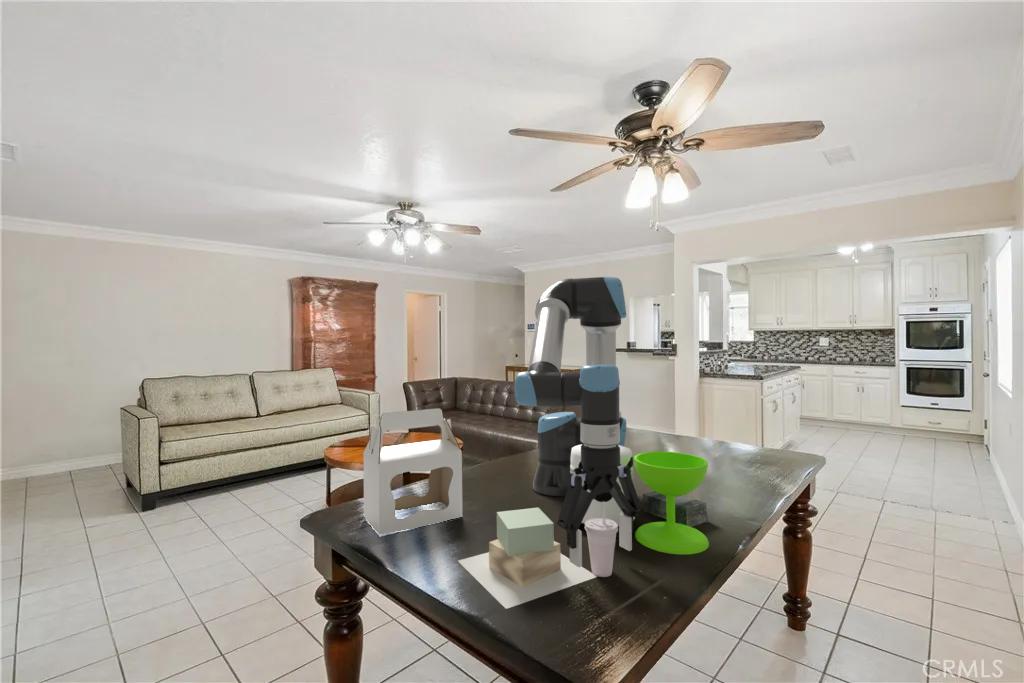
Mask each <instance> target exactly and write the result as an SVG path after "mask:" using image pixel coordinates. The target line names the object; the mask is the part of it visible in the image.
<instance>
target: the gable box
mask: <svg viewBox="0 0 1024 683" xmlns="http://www.w3.org/2000/svg"><path fill="white" fill-rule="evenodd" d="M379 421H380V422H379V424H378V425H376V426H371V427H370V434H369V441H368V443H367V445H366V446H365V449H364V451H363V453H362V454H363V518H364V517H365V518H366V519H367V520H368V521H369V523H370V524H371V525H372V526H373V528H374V529H375V530H376V531H377V532H378V533H379V534H384V533H389V532H395V531H401V530H406V529H412V528H416V527H420V526H425V525H429V524H433V523H437V522H442V523H444V522H443V521H446V522H448V521H447V520H450V519H455V518H459V517H462V518H463V454H462V453H463V451H462V449H461V446H460V444H459V442H458V440H457V438H456V436H455V435H454V432H453V430H452V421H451V418H444V415H443V410H442V409H441V408H439V407H438V408H437V407H435V408H426V409H424V408H423V409H417V410H415V409H414V410H404V411H392V412H383V413H382V414H381V416H380V417H379ZM437 426H438V427H439V428H440V439H434V440H427V441H420V442H419V441H418V442H412V443H402V444H397V445H396V444H395V445H389V446H383V436H384V433H387V432H388V433H389V432H392V431H398V430H399V431H400V430H408V429H409V430H411V429H418V428H427V427H428V428H429V427H437ZM408 472H429V475H428V492H427V493H426V494H425V495H413V494H412V495H403V496H400V497H398V498H396V499H395V497H394V495H393V492H392V489H391V483H392V479H394V478H395V477H396V476H398V475H400V474H403V473H408ZM437 502H442V503H444V504H445V505H446V506H447V507H446V508H445V509H442V510H422V511H419V512H416V513H414V514H412V515H410V516H408V517H406V518H404V519H397V518H396V517H395V510H401V509H408V508H412V507H417V506H421V505H427V504H432V503H437ZM459 519H460V518H459ZM455 520H456V519H455ZM450 521H451V520H450Z"/></svg>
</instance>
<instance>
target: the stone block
mask: <svg viewBox="0 0 1024 683" xmlns="http://www.w3.org/2000/svg"><path fill="white" fill-rule="evenodd" d="M642 510H643V512H645V513H648V514H651V515H653V516H656V517H659V518H661V519H665V520H666V495H663V494H660V493H657V492H655V491H651V492H646V493H642ZM708 522H709V516H708V509H707V502H706V501H705V502H704V501H702V500H697V499H694V498H692V497H687V496H686V495H681V496H675V523H679V524H683V525H687V526H690V527H692V528H695V527H696V526H699V525H702V524H705V523H708Z"/></svg>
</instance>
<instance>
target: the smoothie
mask: <svg viewBox="0 0 1024 683" xmlns="http://www.w3.org/2000/svg"><path fill="white" fill-rule="evenodd" d="M584 530H585V531H586V535H587V542H588V543H587V544H588V550H589V552H588V553H589V559H590V568H591V573H592V574H594V575H596V576H597V577H601V578H606V577H607V578H608V577H610V576H612V574H613V566H614V564H613V563H614V555H615V548H616V541H617V539H616V537H617V534H618V533H619V528H618V524H617V523H616V522H615V521H613V520H610V519H606V518H605V502H604V501H603V502H602V518H592V519H589V520H587V521H586V522H585V526H584Z"/></svg>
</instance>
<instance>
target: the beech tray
mask: <svg viewBox="0 0 1024 683" xmlns="http://www.w3.org/2000/svg"><path fill="white" fill-rule="evenodd" d="M488 552H489V568H491V569H493V570H494V571H496V572H498V573H499V574H501V575H503V576H504V577H506V578H508V579H509V580H511V581H513V582H514V583H516V584H518V585H520V586H521V587H525V586H527V585H529V584H531V583H533V582H535V581H537V580H540V579H542V578H544V577H546V576H548V575H550V574H552V573H554V572H556V571H558V570H560V569H561V554H562V552H561V543H559V542H557V541H555V540H554V550H549V551H542V552H535V553H528V554H520V555H513V556H508V555H507V553H506V551H505V549H504V548H503V546H502V544H501V543H500V541H499V539H498V538H497V539H494V540H491V541H489V542H488Z"/></svg>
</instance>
